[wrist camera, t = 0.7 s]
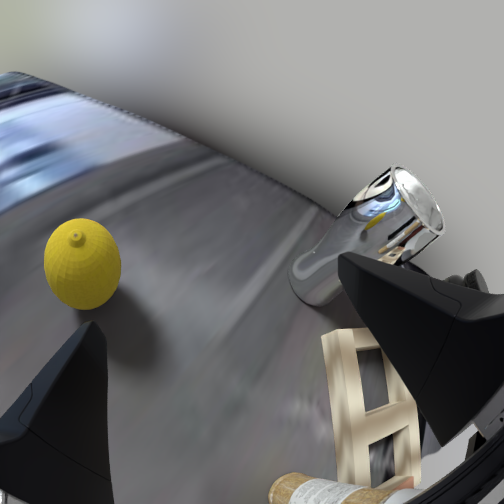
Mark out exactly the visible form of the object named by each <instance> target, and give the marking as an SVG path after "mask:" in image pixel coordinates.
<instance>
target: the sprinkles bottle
mask: <svg viewBox="0 0 504 504" xmlns="http://www.w3.org/2000/svg"><path fill="white" fill-rule="evenodd" d="M424 490H426V489H402V490H383V489H375V488H370V487H367V486H360V485H353V484H347V483H341V482H336V481H331V480H326V479H318V478H314V477H310V476H307V475H305V474H303V473H295V472H293V473H289V474H286V475H284V476H282V477H280V478H279V479H278V480H276V481H275V482H274V484H273V485H272V487H271V489H270V491H269V495H268V501H269V503H270V504H403V503H405V502H407V501H408V500H410V499H412V498H413V497H415V496H416V495H418V494H420V493H421V492H423V491H424Z"/></svg>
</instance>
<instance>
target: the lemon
mask: <svg viewBox="0 0 504 504" xmlns="http://www.w3.org/2000/svg"><path fill="white" fill-rule="evenodd" d="M44 269H45V273H46V278H47V281H48V283H49V285H50V287H51V289H52V291H53V293H54V294H55V295H56V296H57V297H58V298H59V299H60V300H61V301H62V302H63V303H65V304H67V305H68V306H70V307H73V308H76V309H80V310H90V309H93V308H97V307H99V306H101V305H102V304H104V303H105V302H106V301H107V300H108V299H109V298H110V297H111V296H112V295H113V293H114V292H115V290H116V288H117V286H118V283H119V279H120V276H121V260H120V255H119V250H118V247H117V245H116V243H115V241H114V239H113V237H112V236H111V234H110V233H109V232H108V231H107V230H106V229H105V228H104V227H103V226H102V225H100V224H99V223H97V222H94V221H92V220H89V219H82V218H81V219H73V220H70V221H67V222H65V223H64V224H62V225H60V226H59V227H58V228H57V229H56V230H55V231H54V232H53V234H52V235H51V237H50V238H49V240H48V243H47V246H46V249H45V255H44Z"/></svg>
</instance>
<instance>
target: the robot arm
mask: <svg viewBox="0 0 504 504" xmlns="http://www.w3.org/2000/svg"><path fill="white" fill-rule="evenodd" d="M338 277H339V280H340V282H341V284H342V285H343V287H344V289H345V291H346V293H347V295H348V296H349V298H350V300H351V302H352V304H353V306H354V308H355V309H356V311H357V313H358V314H359V316H360V317H361V319H362V320H363V322H364V323H365V324H366V326H367V327H368V329H369V330H370V332H371V333H372V335H373V336H374V338H375V339H376V341H377V342H378V344H379V345H380V347H381V348H382V350H383V351H384V353H385V354H386V356H387V357H388V359H389V361H390V362H391V364H392V365H393V367H394V368H395V370H396V371H397V373H398V375H399V376H400V378H401V379H402V381H403V383H404V384H405V386H406V387H407V389H408V391H409V392H410V394H411V395H412V397H413V399H414V400H415V402H416V404H417V406H418V407H419V409H420V411H421V412H422V414H423V416H424V417H425V419H426V421H427V422H428V424H429V426H430V428H431V429H432V431H433V433H434V435H435V436H436V438H437V440H438V442H439V443H440V445H441V446H442V447H444V446H445V445H446V444H448V443H449V442H450V441H452V440H453V439H454V438H455V437H457V436H458V435H459V434H461V433H462V432H463V431H464V430H465V429H467V428H468V427H469V426H470V425H471V424H474V425H475V426H476V428H477V429H478V431H477V432H476V433H475V434H474V435H473V436H472V437H471V438H470V439H469V443H468V449H467V453H466V458H465V461H464V462H463V463H461V464H460V465H459V466H458V467H456V468H455V469H454V470H453V471H451V472H450V473H449V474H447V475H446V476H445V477H443V478H442V479H441V480H439V481H438V482H436V483H435V484H433V485H432V486H430V487H429V488H427V489H426V490H424V491H423V492H421V493H420V494H418V495H416V496H415V497H413V498H412V499H410V500H408V501H407V502H405V503H403V504H504V294H498V295H497V294H490V293H486V292H482V291H478V290H474V289H471V288H467V287H463V286H459V285H455V284H452V283H448V282H445V281H441V280H438V279H436V278H433V277H429V276H426V275H423V274H420V273H417V272H414V271H411V270H408V269H405V268H401V267H398V266H395V265H392V264H389V263H385V262H382V261H379V260H376V259H373V258H369V257H366V256H363V255H359V254H356V253H353V252H349V251H348V252H344V253H341V254H339V255H338ZM107 393H108V369H107V343H106V338H105V336H104V334H103V333H102V331H101V330H100V328H99V327H98V325H97V323H96V322H95V321H93V320H92V321H88V322H84V323H83V324H82V325H81V326H80V327H79V328H78V329H77V330H76V331H75V333H74V334H73V335H72V336H71V337H70V338H69V339H68V340H67V341H66V342H65V344H64V345H63V346H62V347H61V348H60V349H59V350H58V351H57V352H56V354H55V355H54V356H53V357H52V358H51V359H50V360H49V362H48V363H47V364H46V365H45V366H44V367H43V369H42V370H41V371H40V372H39V373H38V375H37V376H36V377H35V378H34V379H33V381H32V383H30V384H29V385H28V387H27V388H26V389H25V390H24V391H23V393H22V394H21V395H20V396H19V398H18V399H17V400H16V401H15V402H14V403H13V404H12V406H11V407H10V408H9V409H8V410H7V411H6V412H5V413H4V415H3V416H2V417H1V418H0V504H114V498H113V491H112V482H111V474H110V464H109V450H108V425H107Z"/></svg>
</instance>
